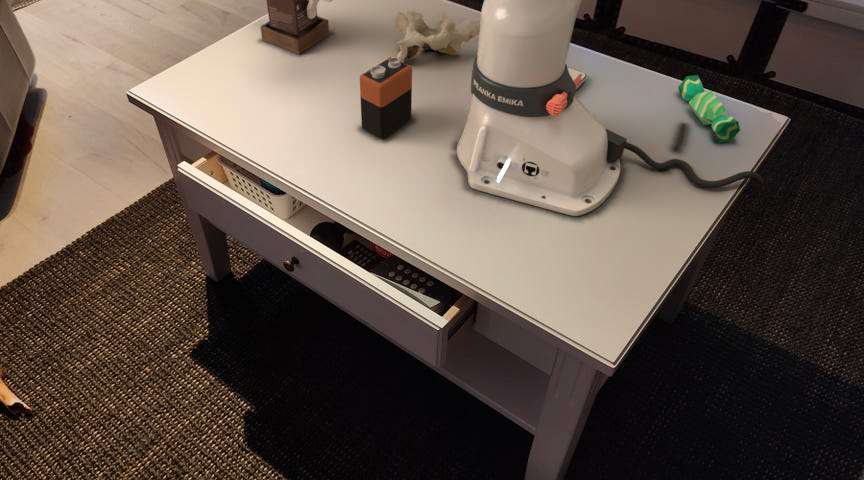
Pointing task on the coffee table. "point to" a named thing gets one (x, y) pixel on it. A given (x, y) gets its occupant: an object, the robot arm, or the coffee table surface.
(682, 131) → the stick
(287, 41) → the tray
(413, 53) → the decorative object
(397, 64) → the battery
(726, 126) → the candy
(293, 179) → the coffee table surface
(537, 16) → the robot arm
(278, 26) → the box
